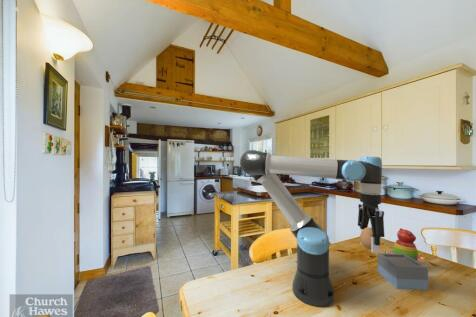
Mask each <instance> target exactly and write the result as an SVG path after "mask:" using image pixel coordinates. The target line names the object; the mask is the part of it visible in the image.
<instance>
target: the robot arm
mask: <svg viewBox="0 0 476 317" xmlns="http://www.w3.org/2000/svg"><path fill="white" fill-rule="evenodd" d="M239 160H240V161H239V166H240V168H241V170H242V172H243V173H244V174H247V175H249V176H251V177H252V178H253V180H254V181H255V182H256V183H260V184H261V185H262V187H263V189H265V191H266V192H267V194H268V195H269V197H270V198H271V200H272V201H273V203H274V204H275V205H276V207H277V208H278V209H279V211H280V212H281V214H282V215H283V217H284V218H285V219H286V220H287V222H288V223H289V224H290V232H291V233H292V234H293V236H294V237H295V239H296V270H295V271H296V272H295V274H294V278H293V280H292V285H291V286H292V288H291V289H292V294H294V296H295V297H296V298H297V299H298V300H300V301H301V302H303V303H305V304H308V305H310V306H314V307H326V306H330V305H331V304H333V302H334V301H335V290H334V287H333V284H332V282H331V277H330V238H329V236H328V234H327V233H326V232H325V231H324V230H323V228H322V227H321V225H320V224H318V223H317V222H316V221H315V219H314V218H313V217H312V216H311V215H308V214H306V213H305V211H304V210H303V209H302V207H301V206H300V205H299V203H298V202H297V201H296V198H294V197H293V195H292V194H291V193H290V191H289V190H288V189H287V186H286V185H284V183H283V182H282V180H281V179H280V178H279V176H278V175H288V176H300V177H308V178H309V177H311V178H321V179H331V180H333V179H334V180H340V181H341V180H342V181H349V182H358V181H359V192H360V193H359V201H360V203H359V204H358V205H357V206H358V213H357V214H358V216H357V217H358V218H357V226H358V227H359V229H360V233H361V232H362V230H363V229H365V228H367V227H369V222H370V228H372V232H373V235H371V236H372V237H371V254H372V253H373V254H378V253H381V252H380V248H381V247H380V244H381V238H385V224H384V222H385V220H384V216H385V212H384V211H383V210H380V209H379V208H380V207H379V205H381V204H382V195H381V194H382V180H383V179H382V175H383V174H382V173H383V172H382V171H383V163H382V161H383V160H382V158H381V157H380V156H361V157H360V160H354V159H350V160H348V159H337V158H336V159H333V158H318V157H303V156H289V155H276V154H275V155H272V154H271V153H270V152H264V151H261V150H256V149H250V150H246V151H245V152H244V153H243V154H242V155H241V156H240V159H239ZM361 203H362V204H361ZM360 245H361V246H363V245H362V243H361V242H360Z"/></svg>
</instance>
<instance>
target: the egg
mask: <svg viewBox="0 0 476 317" xmlns="http://www.w3.org/2000/svg"><path fill="white" fill-rule="evenodd" d="M371 235H373V232H372V227H371V226H370V227H369V226H368V227H367V228H365V229H363V230H362V232H361V231H360V236H359V241H360V244H361V243H362V245H361V246H363V247H364V248H366V249H367V250H371V237H372V236H371Z"/></svg>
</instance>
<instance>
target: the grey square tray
mask: <svg viewBox="0 0 476 317" xmlns="http://www.w3.org/2000/svg"><path fill="white" fill-rule="evenodd" d="M377 274H379V275H380V276H381V277H382V278H384V279H385V280H386V281H387V282H388V283H389V284H390V285H392V286H393V287H394V288H396V289H397V290H414V291H415V290H417V291H429V267H428V266H426V265H425V264H423V263H421V262H419V261H418V260H417V261H416V260H414V259H413V258H411V257H409V256H408V255H406V254H398V253H394V252H393V253H392V252H391V253H390V252H380V253H377Z"/></svg>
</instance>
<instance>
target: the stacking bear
mask: <svg viewBox="0 0 476 317" xmlns="http://www.w3.org/2000/svg"><path fill="white" fill-rule="evenodd" d="M396 236H397V240H395V242H394V246H393V249H392V250H393V253H398V254H406V255H408V256H409V257H411V258H413V259H414V260H416V261H418V259H419V254H418V253H419V252H418V249H417V246H416V244H415V243H414V242H415V241H416V240H417V237H416V235H415V234H413V232H412V231H410V230H408V229H403V228H399V229H398V231H397V233H396Z"/></svg>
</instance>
